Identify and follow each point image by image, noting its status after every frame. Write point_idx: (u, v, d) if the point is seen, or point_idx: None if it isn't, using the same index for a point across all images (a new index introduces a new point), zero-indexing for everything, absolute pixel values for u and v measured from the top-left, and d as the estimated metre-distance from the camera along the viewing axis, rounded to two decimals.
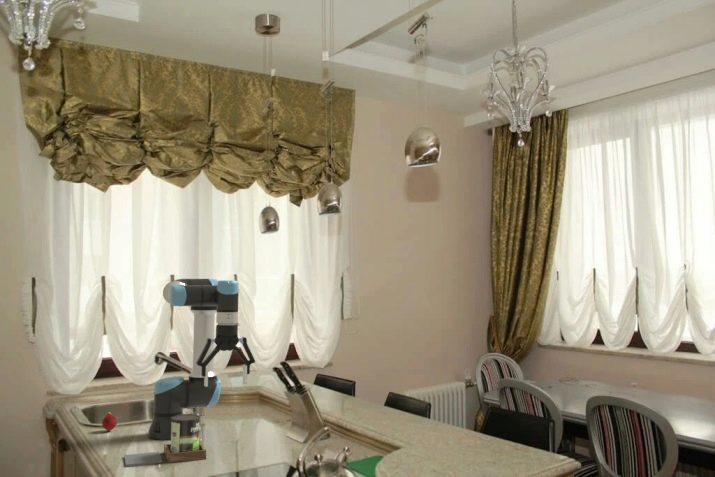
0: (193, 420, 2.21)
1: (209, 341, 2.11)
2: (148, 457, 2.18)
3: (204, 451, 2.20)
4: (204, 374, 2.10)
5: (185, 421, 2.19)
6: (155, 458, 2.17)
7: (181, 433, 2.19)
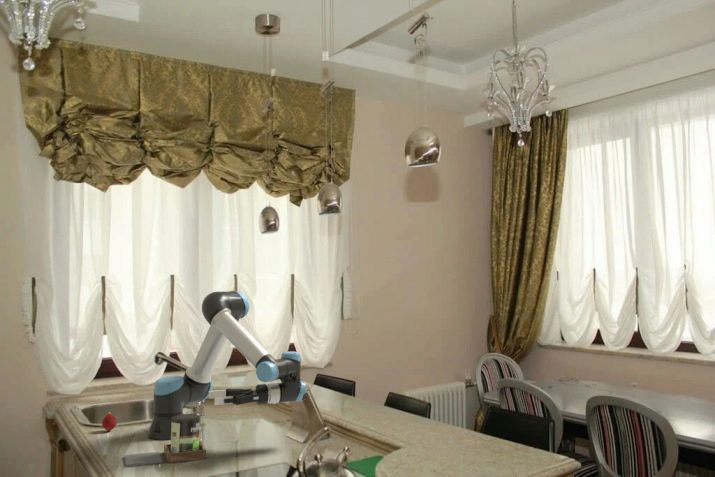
0: (193, 420, 2.21)
1: None
2: (148, 457, 2.18)
3: (204, 451, 2.20)
4: None
5: (185, 421, 2.19)
6: (155, 458, 2.17)
7: (181, 433, 2.19)
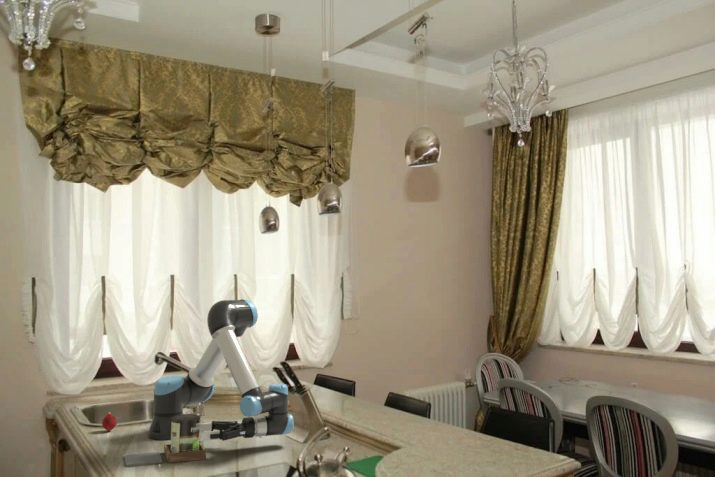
0: (193, 420, 2.21)
1: None
2: (148, 457, 2.18)
3: (204, 451, 2.20)
4: None
5: (185, 421, 2.19)
6: (155, 458, 2.17)
7: (181, 433, 2.19)
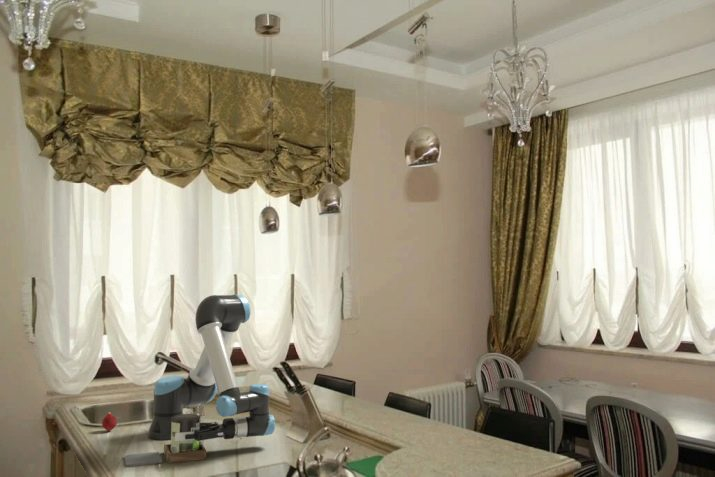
0: (193, 420, 2.21)
1: None
2: (148, 457, 2.18)
3: (204, 451, 2.20)
4: None
5: (185, 421, 2.19)
6: (155, 458, 2.17)
7: None
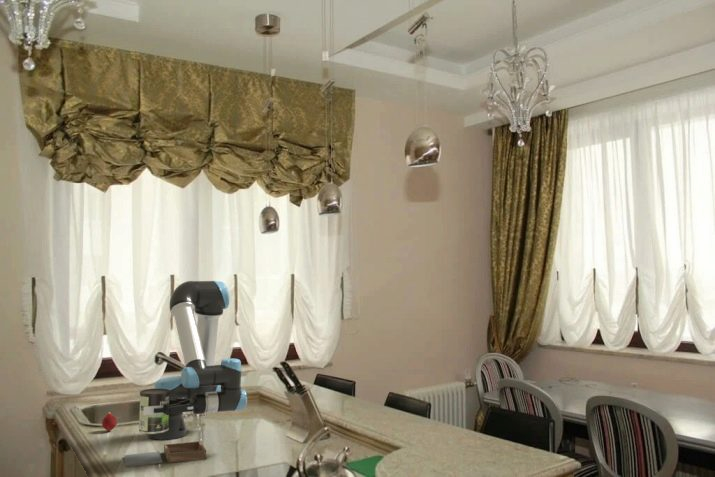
0: (162, 393, 2.16)
1: None
2: (148, 457, 2.18)
3: (204, 451, 2.20)
4: None
5: (154, 395, 2.15)
6: (155, 458, 2.17)
7: None
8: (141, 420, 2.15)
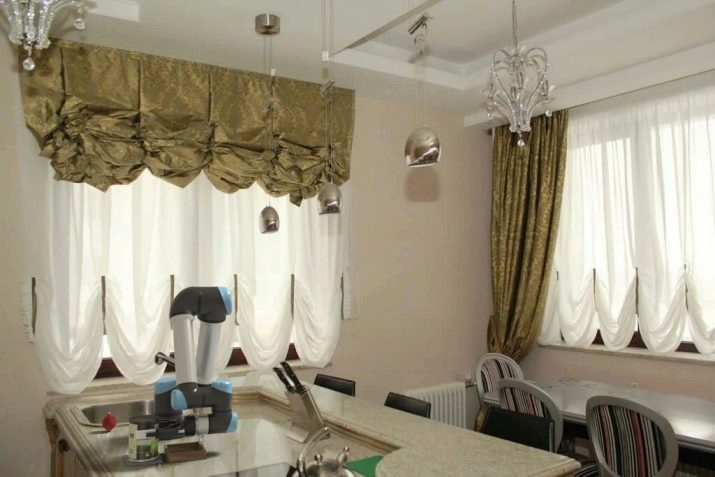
0: (151, 421, 2.15)
1: None
2: None
3: (204, 451, 2.20)
4: None
5: (143, 422, 2.13)
6: None
7: None
8: (130, 448, 2.14)
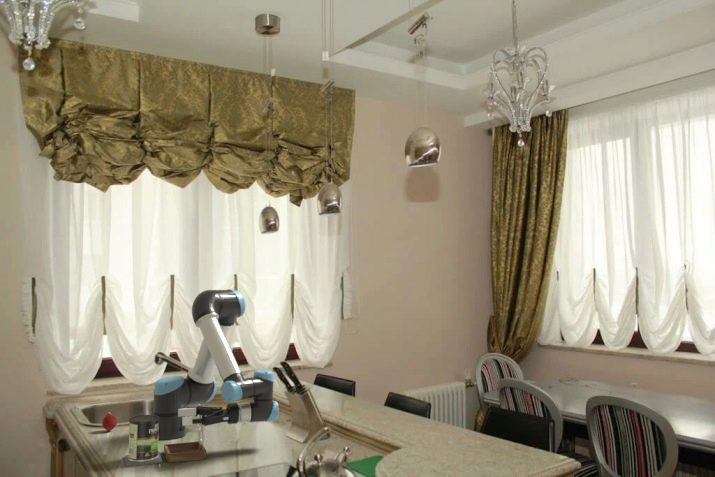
0: (151, 421, 2.15)
1: None
2: None
3: (204, 451, 2.20)
4: None
5: (143, 422, 2.14)
6: None
7: (139, 435, 2.13)
8: (130, 448, 2.14)
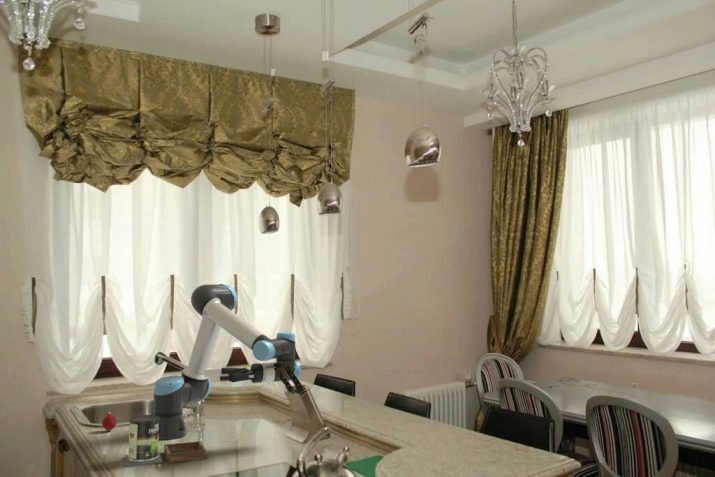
0: (151, 421, 2.15)
1: None
2: None
3: (204, 451, 2.20)
4: None
5: (143, 422, 2.14)
6: None
7: (139, 435, 2.13)
8: (130, 448, 2.14)
